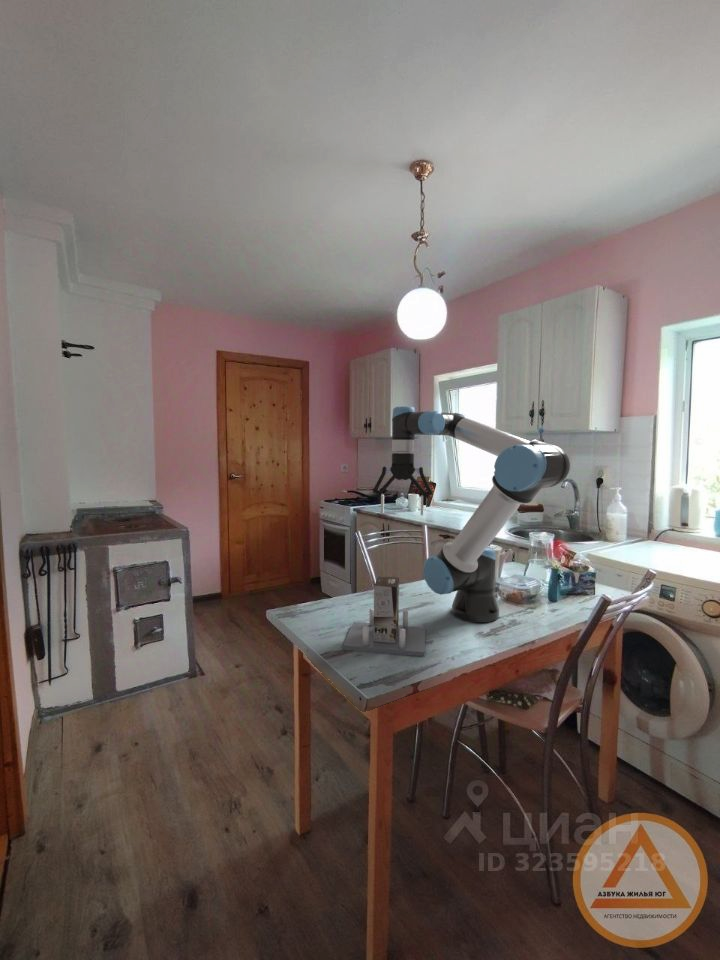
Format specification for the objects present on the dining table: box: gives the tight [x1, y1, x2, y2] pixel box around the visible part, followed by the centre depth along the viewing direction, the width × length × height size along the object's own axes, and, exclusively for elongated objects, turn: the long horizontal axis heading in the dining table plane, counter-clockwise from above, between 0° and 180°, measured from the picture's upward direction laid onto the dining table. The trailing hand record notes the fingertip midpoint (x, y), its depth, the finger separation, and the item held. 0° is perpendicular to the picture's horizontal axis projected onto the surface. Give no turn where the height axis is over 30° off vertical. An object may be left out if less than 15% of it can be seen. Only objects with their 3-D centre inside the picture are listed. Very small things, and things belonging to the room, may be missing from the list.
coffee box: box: [373, 576, 400, 643], centre depth 126 cm, size 9×6×16 cm
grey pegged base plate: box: [342, 607, 426, 657], centre depth 127 cm, size 22×16×6 cm
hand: (401, 514), depth 153 cm, fingers open, 13 cm apart
